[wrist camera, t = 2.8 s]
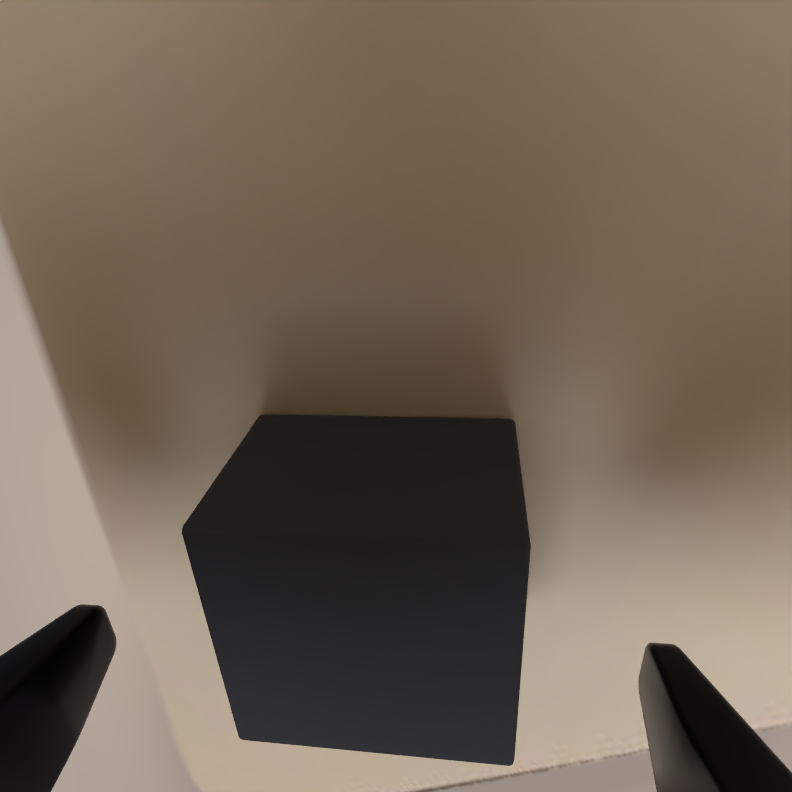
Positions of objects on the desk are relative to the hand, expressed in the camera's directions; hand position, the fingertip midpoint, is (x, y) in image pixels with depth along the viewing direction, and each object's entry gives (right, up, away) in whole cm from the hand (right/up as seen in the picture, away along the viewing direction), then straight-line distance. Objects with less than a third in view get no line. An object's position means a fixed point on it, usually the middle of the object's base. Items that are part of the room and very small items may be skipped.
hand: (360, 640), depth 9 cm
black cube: (0, +1, +3) cm, 3 cm away
